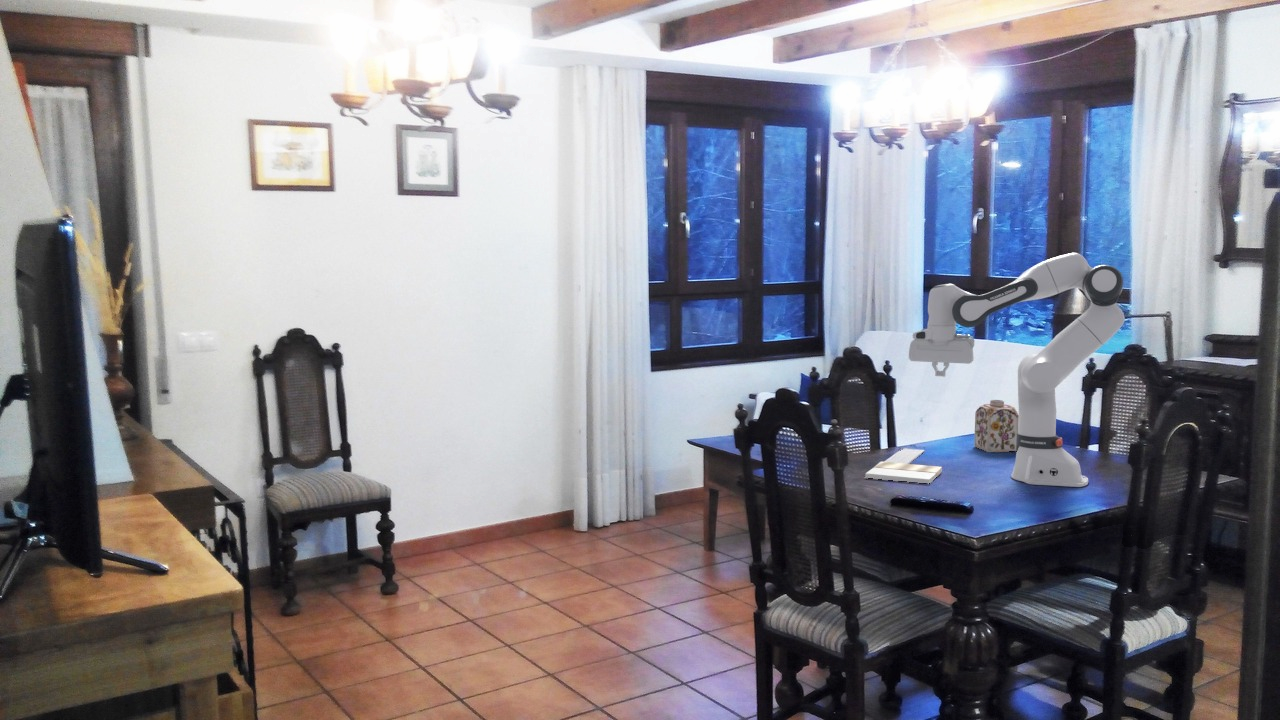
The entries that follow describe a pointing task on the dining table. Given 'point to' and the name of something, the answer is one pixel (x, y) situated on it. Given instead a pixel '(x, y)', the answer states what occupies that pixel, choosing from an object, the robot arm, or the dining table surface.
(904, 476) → the white board
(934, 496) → the dining table surface
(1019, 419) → the robot arm
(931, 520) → the dining table surface
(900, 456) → the baseboard
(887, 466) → the birch plank
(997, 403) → the decorative jar
